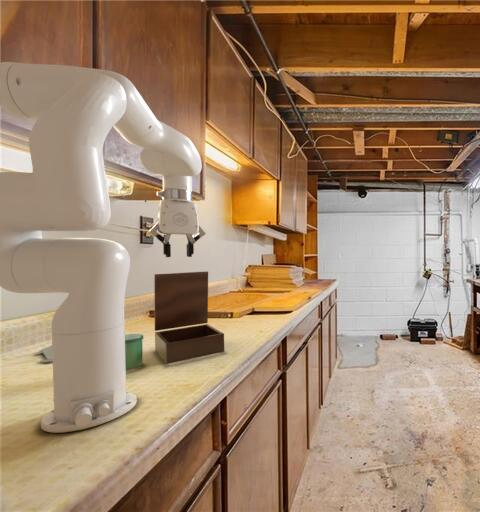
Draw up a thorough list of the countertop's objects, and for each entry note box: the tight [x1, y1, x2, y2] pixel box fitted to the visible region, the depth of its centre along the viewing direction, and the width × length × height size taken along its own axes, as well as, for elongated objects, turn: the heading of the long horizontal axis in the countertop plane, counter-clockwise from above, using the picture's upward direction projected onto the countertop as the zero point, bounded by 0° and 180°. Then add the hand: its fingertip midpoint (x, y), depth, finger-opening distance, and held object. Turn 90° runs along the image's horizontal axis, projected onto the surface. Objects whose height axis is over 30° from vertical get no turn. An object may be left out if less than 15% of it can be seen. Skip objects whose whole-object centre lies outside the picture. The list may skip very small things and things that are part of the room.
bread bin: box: [154, 323, 225, 365], centre depth 89 cm, size 16×14×6 cm
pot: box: [125, 333, 144, 371], centre depth 77 cm, size 6×6×8 cm
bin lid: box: [153, 271, 209, 332], centre depth 94 cm, size 16×14×1 cm
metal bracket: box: [35, 344, 53, 364], centre depth 91 cm, size 14×6×15 cm
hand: (178, 256), depth 96 cm, fingers open, 4 cm apart
